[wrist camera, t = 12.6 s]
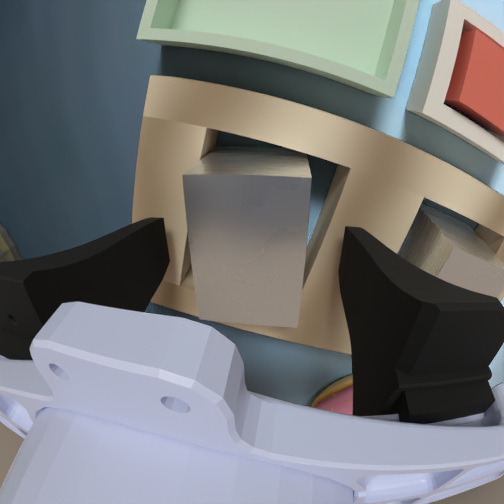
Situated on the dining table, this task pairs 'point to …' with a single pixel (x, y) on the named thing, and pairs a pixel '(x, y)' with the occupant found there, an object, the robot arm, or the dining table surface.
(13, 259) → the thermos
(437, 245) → the block
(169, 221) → the tan open frame
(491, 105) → the button
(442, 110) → the button housing
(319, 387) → the dining table surface
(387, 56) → the tote
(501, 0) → the dining table surface
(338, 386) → the doughnut
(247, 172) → the billet
